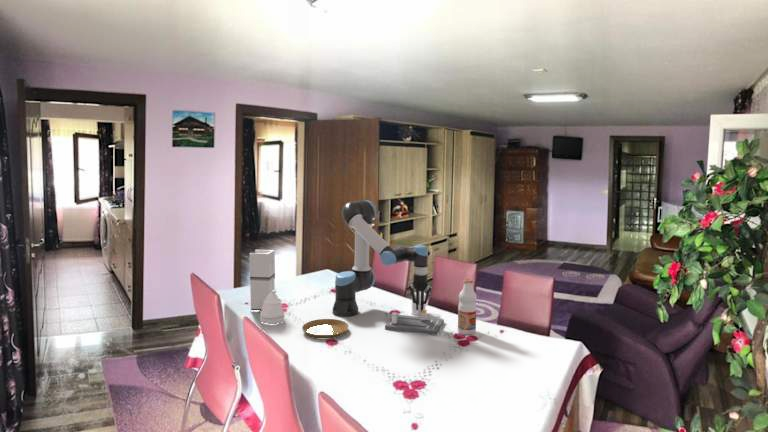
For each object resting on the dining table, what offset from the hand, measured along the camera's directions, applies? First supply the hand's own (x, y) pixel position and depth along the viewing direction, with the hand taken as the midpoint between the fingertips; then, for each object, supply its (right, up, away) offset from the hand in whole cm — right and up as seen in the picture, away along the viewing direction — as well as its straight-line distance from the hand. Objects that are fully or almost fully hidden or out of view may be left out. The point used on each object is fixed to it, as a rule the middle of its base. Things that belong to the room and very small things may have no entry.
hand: (419, 315), depth 289 cm
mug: (+2, -2, +19) cm, 19 cm away
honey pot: (-81, -4, +2) cm, 82 cm away
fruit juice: (+24, -6, -12) cm, 27 cm away
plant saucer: (-50, -6, -14) cm, 53 cm away
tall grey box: (-91, -1, +22) cm, 94 cm away
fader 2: (+2, -2, 0) cm, 3 cm away
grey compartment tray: (-3, -5, -4) cm, 7 cm away
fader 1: (-14, -3, -6) cm, 15 cm away
